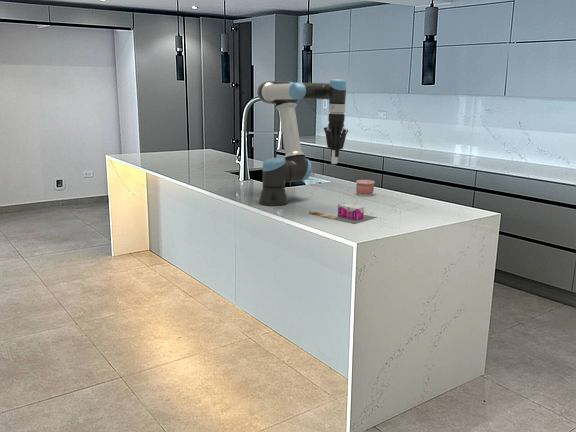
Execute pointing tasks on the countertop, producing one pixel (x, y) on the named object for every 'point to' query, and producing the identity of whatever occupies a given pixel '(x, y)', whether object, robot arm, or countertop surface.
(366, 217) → the mat
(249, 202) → the countertop surface
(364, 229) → the countertop surface
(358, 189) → the container
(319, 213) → the turner
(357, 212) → the supplement box
